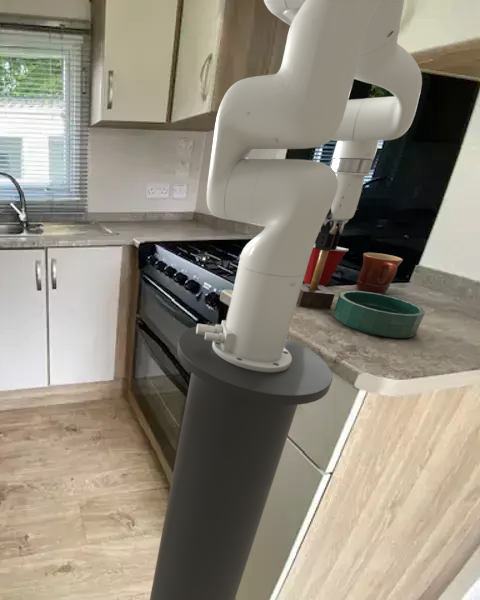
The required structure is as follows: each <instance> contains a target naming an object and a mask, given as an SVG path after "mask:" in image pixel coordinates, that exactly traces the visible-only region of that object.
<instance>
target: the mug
mask: <svg viewBox="0 0 480 600" xmlns="http://www.w3.org/2000/svg"><path fill="white" fill-rule="evenodd" d="M362 258H363V260H362V267H361V269H360V272H359V274H358V277H357V279H356V285H355V286H356V287H355V288H357V289H358V291H363V292H371V293H377V294H382V295H384V294H385V293H387V291H388V290H389V289H390V287H391V284H392V281H393V280H394V279H395V276H396V274H397V271H398V267H399V266H400V265H401V263H402V262H403V261H404V259H403V258H401V257H400V256H399V257H398V256H395V255H390V254H385V253H377V252H364V253H363V254H362Z"/></svg>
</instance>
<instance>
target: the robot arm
mask: <svg viewBox="0 0 480 600" xmlns="http://www.w3.org/2000/svg"><path fill="white" fill-rule="evenodd" d="M263 3H264V5H265V6H266V8H267V10H268V11H269V12H270V13H271V14H272V15H274V16H275V17H277V18H278V19H280V21H282V22H284V23H285V24H287V25H288V26H289V29H288V33H287V37H286V43H285V47H284V52H283V56H282V61H281V64H280V68H279V70H278V71H277V73H272V74H265V75H255V76H250V77H246V78H243V79H240V80H238V81H236V82H234V83H233V84H232V85H231V86H230V87H229V88H228V90H227V91H226V92H225V93H224V95H223V97H222V99H221V102H220V104H219V107H218V111H217V114H216V118H215V124H214V131H213V137H212V138H213V139H212V146H211V153H210V162H209V170H208V178H207V187H206V205H207V209H208V211H209V213H210V214H211V215H212V216H213V217H216V218H219V219H222V220H227V221H228V220H229V221H234V222H243V223H247V224H248V223H249V224H256V225H260V226H262V227H264V228H263V230H262V231H260V233H258V234H257V235H256V236H254V237H253V238H252V239H251V240H250V241H248V242H247V243H246V244H245V246H244V247H243V249H242V251H241V253H240V256H239V261H238V266H237V269H236V274H235V278H234V279H235V280H234V283H233V289H232V294H231V298H230V303H229V308H228V312H227V317H226V320H225V319H222V320H221V323H220V324H221V325H217V324H218V323H215V324H216V325H215V326H208V325H205V324H206V323H205V324H204V323H197V324H196V326H197V328H196V334H200V335H205V340H210V341H213V343H212V347H213V350H214V351H215V353H216V354H217V355H218V356H220V357H221V358H222V359H224V360H225V361H227V362H229V363H231V364H233V365H236V366H238V367H241V368H244V369H248V370H252V371H258V372H268V373H271V372H280V371H284V370H286V369H288V368H289V367H290V365H291V362H292V356H291V354H290V353H289V352H288V350H286V349H285V348H284V346H285V343H286V339H287V338H288V335H289V333H290V329H291V325H292V322H293V318H294V315H295V311H296V307H297V305H298V304H297V301H298V297H299V294H300V290H301V287H302V284H304V276H305V273H306V269H307V266H308V263H309V259H310V256H311V253H312V250H313V247H314V244H316V245H315V249H319V250H324V251H330V250H336V248H337V247H338V244H339V242H340V238H341V234H342V233H343V231H344V227H345V225H346V224H347V223H348V222H349V220H351V219H352V218H354V216H355V213H356V211H357V208H358V206H359V201H360V198H361V194H362V190H363V186H364V183H365V177H369V175H370V172H371V170H372V169H371V168H372V166H373V163H374V160H375V156H376V153H377V151H378V147H379V144H380V141H392V140H393V141H394V140H396V139H398V138H401V137H402V136H403V135H405V134H406V133H407V132H408V130H409V128H411V126H412V124H413V121H414V118H415V116H416V112H417V108H418V104H419V99H420V95H421V91H422V86H423V75H422V71H421V69H420V67H419V64H418V63H417V61H416V60H415V58H414V57H413V55H411V54H410V52H408V50H406V49H405V48H404V47H403V46H401V45H400V44H399V43H398V39H399V33H400V28H401V21H402V17H403V16H402V15H403V11H404V3H405V0H263ZM354 80H356V81H360V82H363V83H366V84H371V85H372V86H373V85H374V86H377V87H379V88H382V89H384V90H386V91H388V92H389V93H390V94H392V95H393V96H382V97H381V96H380V97H379V96H378V97H366V98H354V99H349V98H350V94H351V91H352V89H353V85H354ZM330 141H333V142H336V143H335V147H334V150H333V155H332V159H331V162H330V164H329V165H328V164H326V163H324V162H321V161H316V160H311V159H299V158H249V155H250V152H251V151H252V150H298V149H299V150H305V149H313V148H318V147H322V146H324V145H326V144H328V143H330ZM335 227H337V231H336V234H333V233H334V230H335ZM334 236H335V237H334ZM333 239H334V240H333ZM332 242H333V244H332ZM331 246H332V247H331Z"/></svg>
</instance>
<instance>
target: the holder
mask: <svg viewBox="0 0 480 600" xmlns="http://www.w3.org/2000/svg"><path fill="white" fill-rule="evenodd" d="M310 285H311V284H306V283H302V287H301V290H300V294H299V297H298V301H297V304H296V305H297V306H299V307H302V308H303V307H304V308H313V309H322V310H331V308H332V305H333V301H334V299H335V297H336V294H335V293H334V292H332V291H331V290H330V289H329V288H327V286H326V287H324V286H322V285H318V287H317V290H311V289H309V288H310Z"/></svg>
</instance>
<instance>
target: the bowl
mask: <svg viewBox="0 0 480 600" xmlns="http://www.w3.org/2000/svg"><path fill="white" fill-rule="evenodd" d="M425 314H426V311H425V310H424V309H423V307H421V306H419V305H417V304H415V303H413V302H410V301H407V300H405V299H402V298H398V297H394V296H391V295H386V294H377V293H371V292H364V291H361V290H347V291H342V292H340V293H339V295H338V299H337V301H336V303H335V307H334V310H333V317H334V318H335V319H337V320H338V321H339V322H341V323H342V324H343V325H345V326H347V327H349V328H351V329H354V330H356V331H360V332H362V333H366V334H370V335H373V336H378V337H382V338H383V337H384V338H390V339H391V338H393V339H402V338H411V337H415V336H416V334H417V333H418V331H419V328H420V326H421V323H422V321H423V319H424V317H425Z"/></svg>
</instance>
